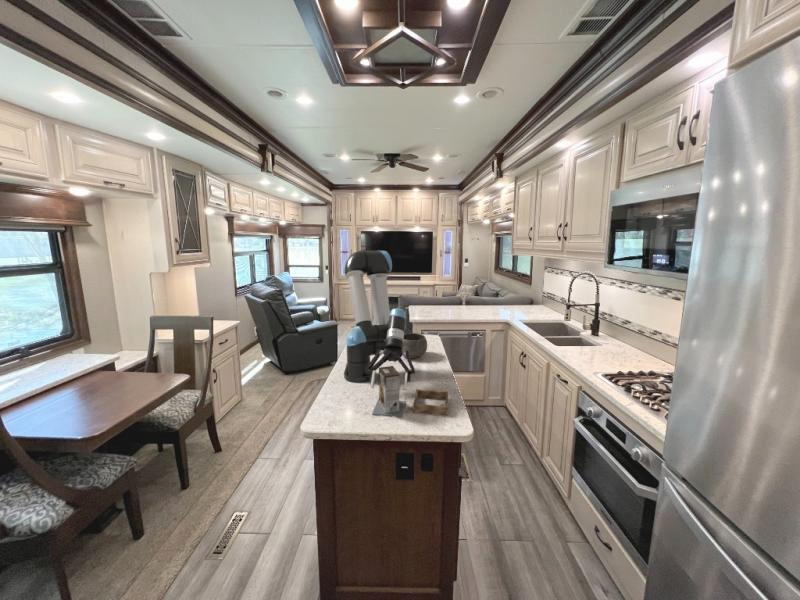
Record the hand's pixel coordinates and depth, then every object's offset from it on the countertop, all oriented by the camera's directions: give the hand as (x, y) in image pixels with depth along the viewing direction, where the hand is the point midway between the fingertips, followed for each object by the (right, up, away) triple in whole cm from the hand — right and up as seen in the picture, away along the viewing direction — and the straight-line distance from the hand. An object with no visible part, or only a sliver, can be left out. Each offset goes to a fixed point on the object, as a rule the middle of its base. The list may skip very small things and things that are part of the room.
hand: (388, 388), depth 130 cm
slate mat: (0, -10, +4) cm, 10 cm away
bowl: (+12, +2, +63) cm, 64 cm away
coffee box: (0, -9, +4) cm, 10 cm away
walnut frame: (+18, -9, +7) cm, 21 cm away
